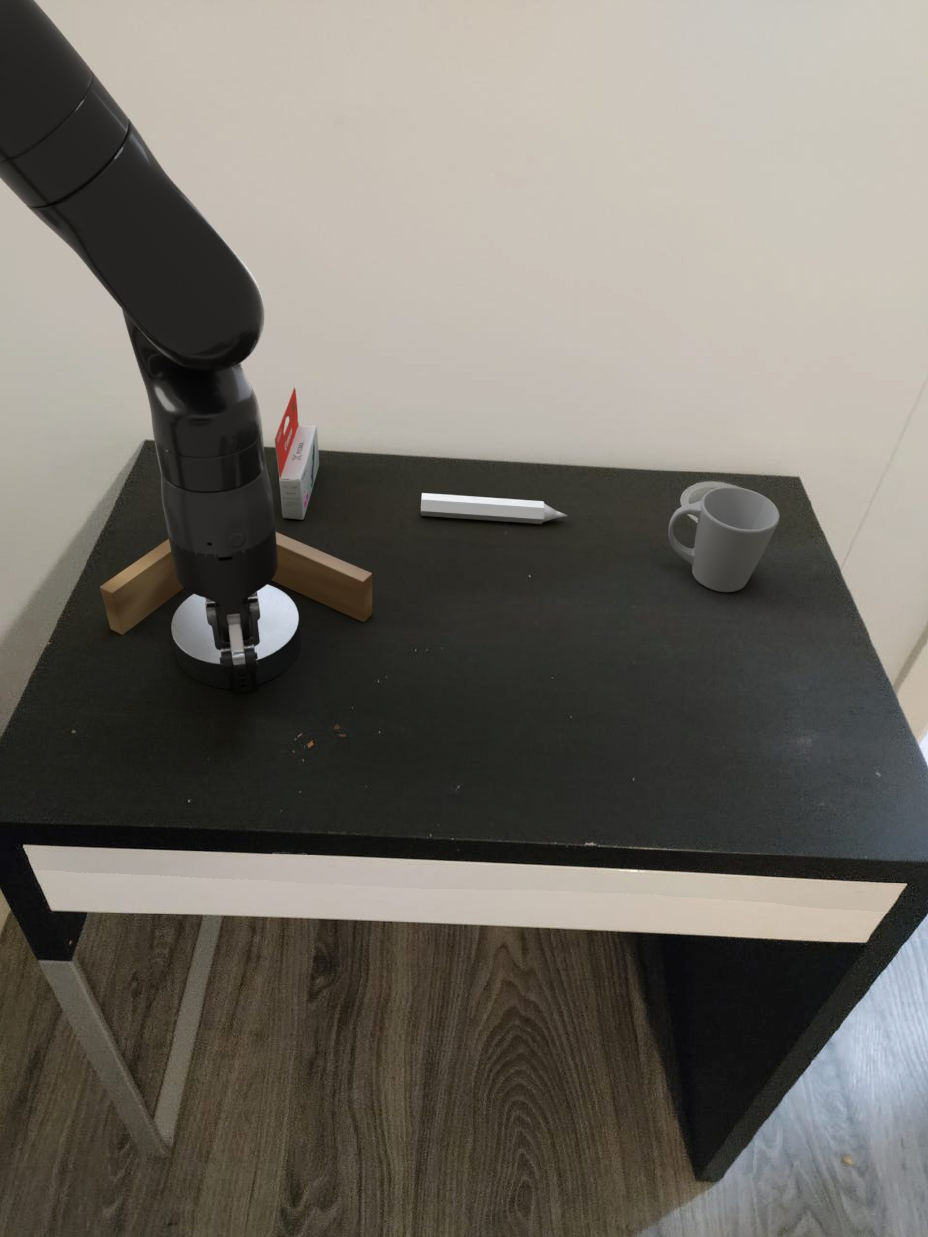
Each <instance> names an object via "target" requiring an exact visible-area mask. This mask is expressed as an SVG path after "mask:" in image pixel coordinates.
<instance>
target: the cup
mask: <svg viewBox="0 0 928 1237" xmlns="http://www.w3.org/2000/svg"><path fill="white" fill-rule="evenodd" d="M687 515H691V516H692V517H693V516H694V517H695V518H697V523H696V529H695V530H696V531H695V537H694V547H692V548H690V547H687V546H684V545H683V544H682V543H680V542H679V540H678V539H677V538H676V536H675V534H674V526H675V524H676V523H677V521H678V520H679V519H680V518H681V517H683V516H687ZM779 522H780V512H779V509H778V508H777V506H776V504H774V503H773V501H771V500H770V499H769V498H768V497H767V496H765V495H762V493H759V492H757V491H754V490H751V489H749V488H743V487H739V486H720V487H716V488H713V489H711V490H708V491H707V492H706V493H705V494H704V495H703V496H702V498H701V500H699V501H696V502H694V503H689V504H685V505H682V506H680V507H679V508H677V509H676V510H675V511H674V512H673V514H672V516H671V518H670V520H669V524H668V540H669V544H670V546H671V548H672V550H673V551H674V553H675V554H676V555H678V556H679V557H680V558H681V559H682V560H684V562H685V561H686V562H688V563H689V564H690V565H691V571H692V575H693V577H694V579H695V580H696V581H697V582H698V583H699V584H701V585H702V586H704V587H706V588H707V589H709V590H711V591H716V592H721V593H732V592H733V593H734V592H736V591H740V590H742V589H743V588H745V586H746V585H747V583H748V582H749V580H750V578H751V577H752V575H753V573H754V571H755V570H756V567H757V566H758V563H759V562H760V560H761V558H762V556H763V555H764V553H765V550H766V549H767V547H768V545H769V542H770V541H771V539H772V537H773V535H774V532H775V531H776V529H777V526H778V524H779Z"/></svg>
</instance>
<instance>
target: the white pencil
mask: <svg viewBox="0 0 928 1237" xmlns="http://www.w3.org/2000/svg"><path fill="white" fill-rule="evenodd" d="M420 516H422V517H436V518H451V519H466V520H477V521H478V520H480V521H494V522H507V523H509V522H510V523H522V524H523V523H524V524H536V525H537V524H538V525H542V524H543V523H545V522H549V521H552V520H553V519H554V520H555V519H561V518H564V517H568V516H569V515H568V514H565V513H563V512H560V511H558V510H556V509H554V508H553V507H551V506H549V505H548V504H546V503H545V501H542V500H530V499H529V500H528V499H518V498H517V499H516V498H515V499H514V498H502V497H501V498H500V497H486V496H472V495H457V494H445V493H444V494H443V493H427V492H421V499H420Z"/></svg>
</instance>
